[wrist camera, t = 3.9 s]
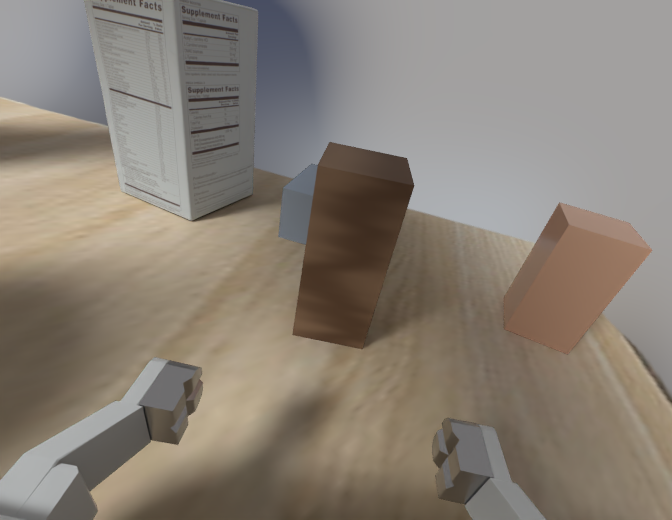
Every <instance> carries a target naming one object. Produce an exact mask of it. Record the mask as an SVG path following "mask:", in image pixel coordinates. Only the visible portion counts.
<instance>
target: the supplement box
mask: <svg viewBox="0 0 672 520" xmlns="http://www.w3.org/2000/svg"><path fill="white" fill-rule="evenodd" d="M84 3H85V8H86V13H87V18H88V23H89V28H90V33H91V39H92V44H93V49H94V54H95V60H96V64H97V69H98V74H99V79H100V84H101V88H102V94H103V99H104V105H105V111H106V116H107V122H108V127H109V132H110V138H111V143H112V148H113V153H114V158H115V163H116V168H117V174H118V179H119V184H120V189H121V191H122V192H125V193H127V194H129V195H132V196H134V197H137V198H139V199H141V200H143V201H146V202H148V203H150V204H153V205H155V206H157V207H160V208H162V209H165V210H167V211H169V212H172V213H174V214H176V215H179V216H181V217H183V218H186V219H188V220H191V221H192V220H194V219H197V218H199V217H201V216H203V215H206V214H208V213H210V212H213V211H215V210H217V209H219V208H222V207H224V206H226V205H229V204H231V203H233V202H236V201H238V200H240V199H242V198H245V197H247V196H250V195H252V194H253V168H254V133H255V97H256V63H257V31H258V11H257V10H255V9H253V8H250V7H246V6H242V5H238V4H234V3H230V2H226V1H222V0H84Z"/></svg>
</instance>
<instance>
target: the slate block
mask: <svg viewBox="0 0 672 520" xmlns="http://www.w3.org/2000/svg"><path fill="white" fill-rule="evenodd" d="M317 167H318V165H315V164H311V165H309V166H308V167H307V168H306V169H305V170H303V171H302V172H301V173H300V174H299V175H298V176H296V177H295V178H294V179H293V180H292V181H291V182H289V183H288V184H287V185H286V186H285V187H284V188H283V193H282V204H281V215H280V226H279V237H280V238H284V239H287V240H291V241H294V242H298V243H301V244H305V245H306V241H307V234H308V227H309V221H310V214H311V207H312V200H313V194H314V187H315V180H316V173H317Z"/></svg>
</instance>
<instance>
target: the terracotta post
mask: <svg viewBox="0 0 672 520" xmlns="http://www.w3.org/2000/svg"><path fill="white" fill-rule="evenodd" d="M651 251H652V249H651V248H650V247H649V246H648V245H647V243H646V242H645V241H644V240H643V239H642V237H641V236H640V235H639V234H638V233H637V231H636V230H635V229H634V228H633V227H632V226H631V224H630V223H628V222H624V221H621V220H618V219H614V218H611V217H607V216H604V215H601V214H597V213H594V212H591V211H587V210H583V209H580V208H577V207H573V206H570V205H567V204H563V203H559V204H558V206H557V207H556V209H555V211H554V213H553V214H552V216H551V218H550V219H549V221H548V223H547V224H546V226H545V228H544V230H543V231H542V233H541V235H540V236H539V238H538V240H537V242H536V243H535V245H534V247H533V248H532V250H531V252H530V254H529V255H528V257H527V259H526V260H525V262H524V264H523V266H522V267H521V269H520V271H519V272H518V274H517V276H516V278H515V279H514V281H513V283H512V285H511V286H510V288H509V290H508V291H507V293H506V295H505V297H504V329H505V330H508V331H510V332H513V333H515V334H518V335H520V336H523V337H525V338H528V339H530V340H533V341H535V342H538V343H540V344H543V345H545V346H548V347H550V348H553V349H555V350H558V351H560V352H563V353H565V354H568V353H569V352H570V351H571V350H572V348H573V347H574V346H575V345H576V344H577V342H578V341H579V340H580V339H581V337H582V336H583V335H584V334H585V332H586V331H587V330H588V329H589V328H590V326H591V325H592V324H593V323H594V321H595V320H596V319H597V318H598V316H599V315H600V314H601V313H602V312H603V310H604V309H605V308H606V307H607V305H608V304H609V303H610V302H611V301H612V299H613V298H614V297H615V296H616V294H617V293H618V292H619V291H620V289H621V288H622V287H623V286H624V285H625V283H626V282H627V281H628V280H629V278H630V277H631V276H632V275H633V274H634V272H635V271H636V270H637V268H638V267H639V266H640V265H641V264H642V262H643V261H644V260H645V259H646V257H647V256H648V255H649V254H650V253H651Z"/></svg>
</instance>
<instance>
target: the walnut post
mask: <svg viewBox="0 0 672 520" xmlns="http://www.w3.org/2000/svg"><path fill="white" fill-rule="evenodd" d="M413 188H414V183H413V179H412V175H411V172H410V168H409V164H408V160H407V158H403V157H398V156H394V155H389V154H384V153H380V152H375V151H370V150H365V149H360V148H356V147H351V146H346V145H341V144H336V143H332V142H330V143H329V144H328V146H327V148H326V150H325V152H324V154H323V156H322V158H321V160H320V162H319V164H318V167H317V173H316V180H315V187H314V194H313V200H312V207H311V214H310V221H309V227H308V234H307V241H306V248H305V254H304V261H303V268H302V275H301V281H300V288H299V295H298V302H297V308H296V315H295V322H294V329H293V335H296V336H301V337H306V338H311V339H316V340H321V341H325V342H330V343H335V344H340V345H345V346H350V347H355V348H359V349H362V348H363V345H364V342H365V339H366V335H367V332H368V329H369V326H370V323H371V320H372V317H373V313H374V310H375V307H376V304H377V301H378V298H379V295H380V291H381V288H382V285H383V282H384V279H385V276H386V273H387V269H388V266H389V263H390V260H391V257H392V254H393V251H394V247H395V244H396V241H397V238H398V235H399V232H400V229H401V225H402V222H403V219H404V216H405V213H406V210H407V207H408V204H409V200H410V197H411V194H412V191H413Z"/></svg>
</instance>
